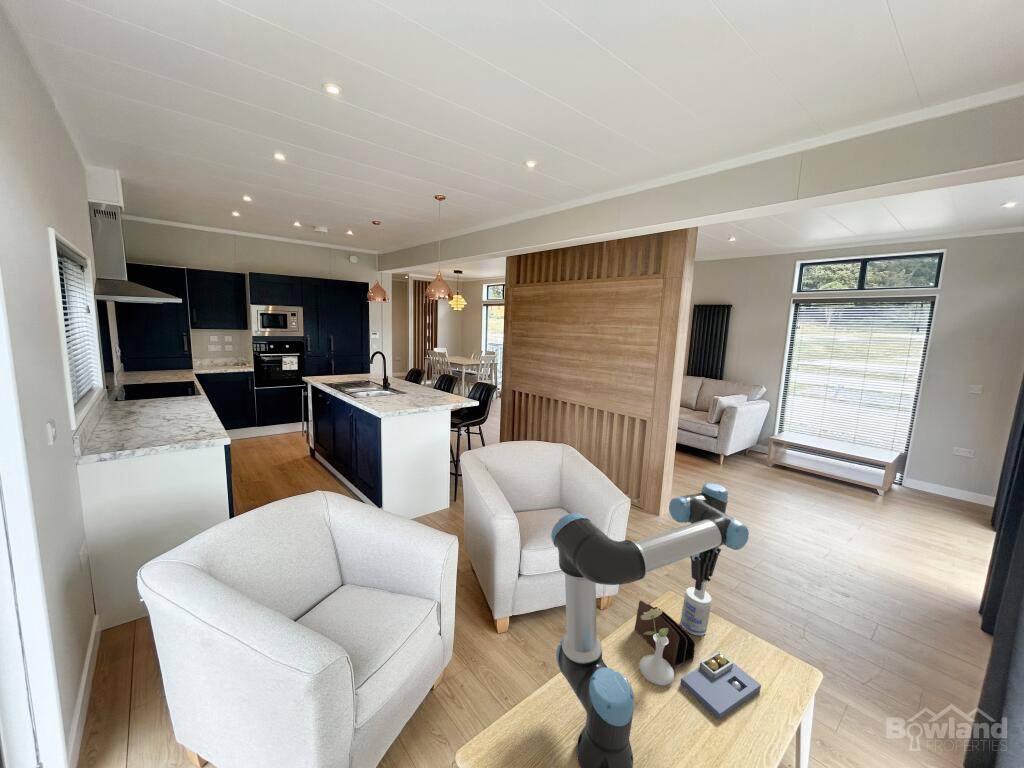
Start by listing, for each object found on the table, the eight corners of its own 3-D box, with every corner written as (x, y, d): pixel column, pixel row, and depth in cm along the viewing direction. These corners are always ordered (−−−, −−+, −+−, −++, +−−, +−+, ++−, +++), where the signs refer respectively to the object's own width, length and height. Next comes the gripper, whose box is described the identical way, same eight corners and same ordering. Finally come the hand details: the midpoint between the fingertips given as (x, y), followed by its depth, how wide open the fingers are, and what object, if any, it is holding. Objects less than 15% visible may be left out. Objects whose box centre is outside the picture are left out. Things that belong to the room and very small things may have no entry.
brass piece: (713, 676, 141) (714, 666, 140) (703, 668, 144) (705, 658, 143) (719, 672, 143) (721, 662, 142) (710, 664, 146) (711, 655, 145)
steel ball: (736, 696, 136) (738, 687, 136) (727, 688, 139) (729, 680, 139) (742, 693, 138) (744, 684, 138) (733, 686, 141) (735, 677, 140)
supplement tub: (680, 632, 163) (685, 598, 160) (679, 615, 172) (684, 583, 169) (707, 640, 160) (713, 605, 157) (705, 623, 169) (710, 590, 166)
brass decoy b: (721, 670, 143) (723, 661, 142) (712, 662, 146) (713, 654, 146) (728, 666, 145) (729, 657, 144) (718, 659, 148) (720, 650, 147)
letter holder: (673, 670, 146) (678, 634, 143) (633, 629, 163) (638, 597, 161) (693, 661, 150) (699, 626, 147) (653, 622, 167) (657, 591, 165)
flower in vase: (668, 662, 148) (677, 599, 144) (677, 691, 137) (687, 624, 133) (631, 657, 150) (638, 595, 145) (637, 685, 138) (645, 619, 134)
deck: (718, 720, 128) (720, 708, 127) (680, 684, 140) (682, 672, 139) (759, 691, 139) (762, 679, 138) (721, 659, 151) (723, 649, 150)
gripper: (706, 542, 129) (695, 610, 133) (732, 532, 135) (721, 598, 139) (685, 530, 135) (676, 595, 139) (711, 522, 141) (701, 584, 146)
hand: (698, 596), depth 139 cm, fingers closed
